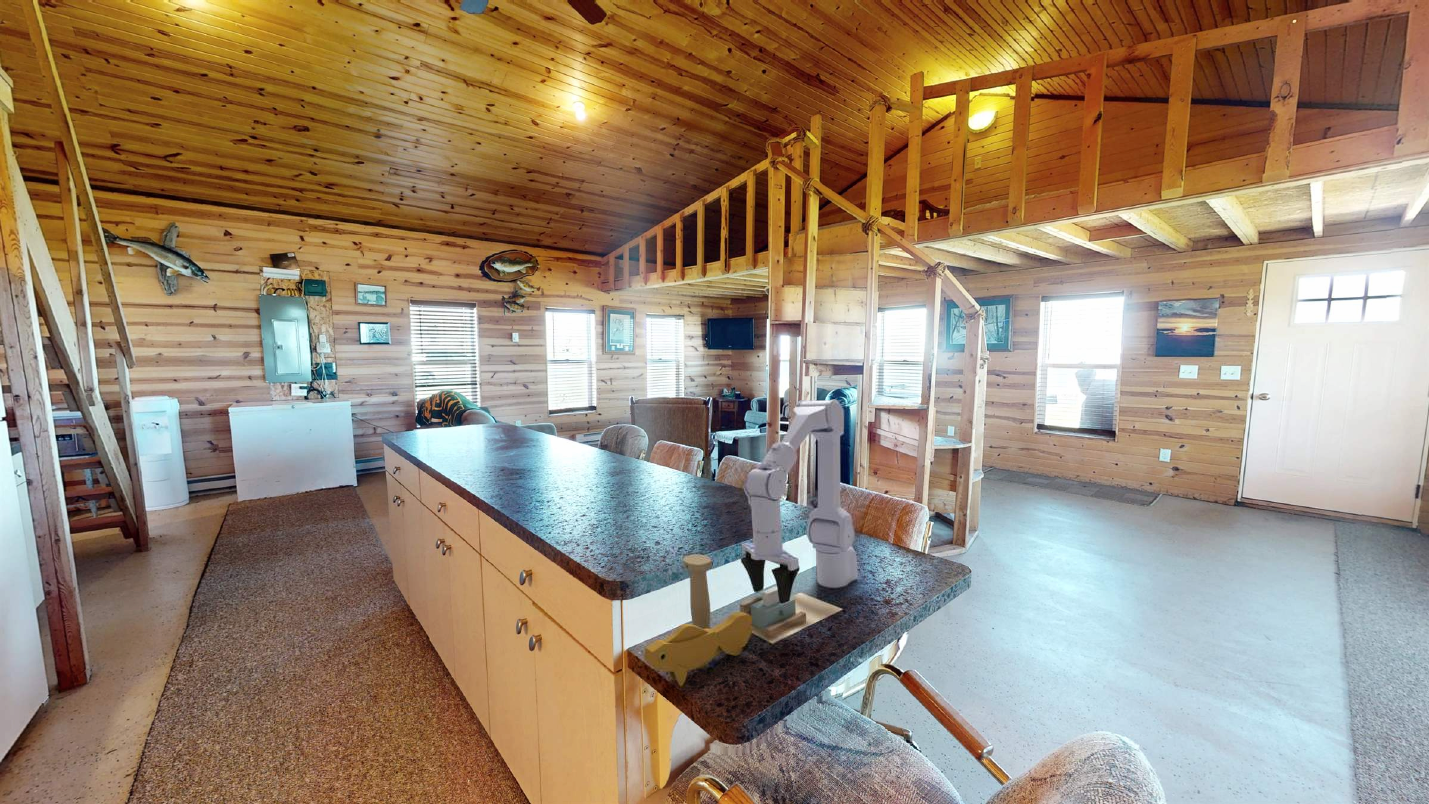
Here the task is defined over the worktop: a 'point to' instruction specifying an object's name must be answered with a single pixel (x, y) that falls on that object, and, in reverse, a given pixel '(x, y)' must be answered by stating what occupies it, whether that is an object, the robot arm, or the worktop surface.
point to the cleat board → (792, 617)
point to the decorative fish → (698, 645)
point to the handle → (699, 589)
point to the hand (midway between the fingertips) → (771, 596)
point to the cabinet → (771, 609)
